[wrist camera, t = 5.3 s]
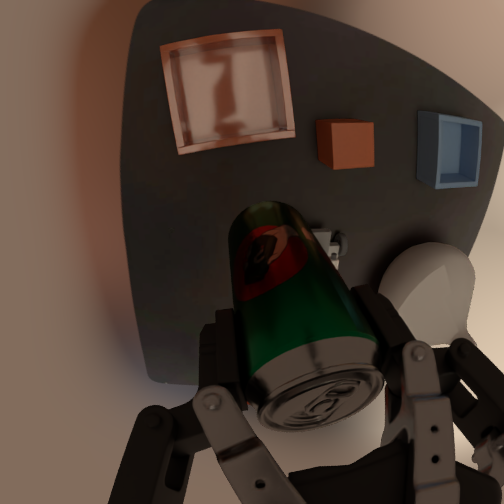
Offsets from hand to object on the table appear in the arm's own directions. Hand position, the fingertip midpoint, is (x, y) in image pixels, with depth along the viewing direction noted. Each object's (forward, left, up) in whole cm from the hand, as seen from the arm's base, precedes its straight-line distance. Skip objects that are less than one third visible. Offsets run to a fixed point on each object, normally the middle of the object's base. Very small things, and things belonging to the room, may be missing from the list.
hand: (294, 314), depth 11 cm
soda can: (0, 0, -8) cm, 8 cm away
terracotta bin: (-10, -1, -23) cm, 25 cm away
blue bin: (-2, +29, -23) cm, 37 cm away
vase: (+20, +25, -23) cm, 40 cm away
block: (-3, +11, -23) cm, 26 cm away
